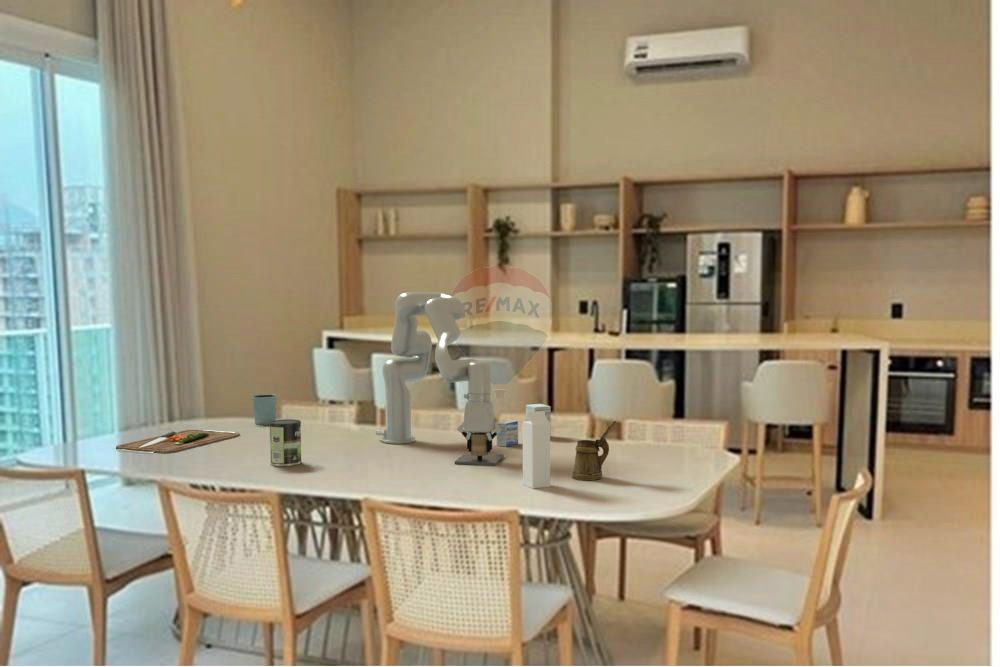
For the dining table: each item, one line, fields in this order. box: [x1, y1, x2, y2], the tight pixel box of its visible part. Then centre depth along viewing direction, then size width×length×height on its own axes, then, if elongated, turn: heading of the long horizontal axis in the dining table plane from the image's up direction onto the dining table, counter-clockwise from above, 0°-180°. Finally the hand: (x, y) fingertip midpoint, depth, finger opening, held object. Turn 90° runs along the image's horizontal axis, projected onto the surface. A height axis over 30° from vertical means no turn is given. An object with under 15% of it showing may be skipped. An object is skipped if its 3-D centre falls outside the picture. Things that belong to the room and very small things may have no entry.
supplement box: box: [525, 403, 552, 439], centre depth 331 cm, size 7×7×13 cm
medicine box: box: [496, 419, 519, 448], centre depth 316 cm, size 8×4×9 cm, turn 143°
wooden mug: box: [571, 420, 617, 482], centre depth 261 cm, size 9×14×18 cm, turn 71°
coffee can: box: [269, 418, 302, 467], centre depth 285 cm, size 10×10×14 cm
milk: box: [522, 411, 551, 490], centre depth 251 cm, size 6×6×22 cm
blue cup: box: [251, 393, 277, 426], centre depth 368 cm, size 10×10×12 cm
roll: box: [470, 432, 489, 456], centre depth 287 cm, size 6×6×7 cm
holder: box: [454, 452, 505, 467], centre depth 288 cm, size 14×14×7 cm
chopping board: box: [115, 429, 241, 455], centre depth 325 cm, size 45×27×3 cm, turn 158°
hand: (479, 450), depth 288 cm, fingers closed on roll, 5 cm apart
